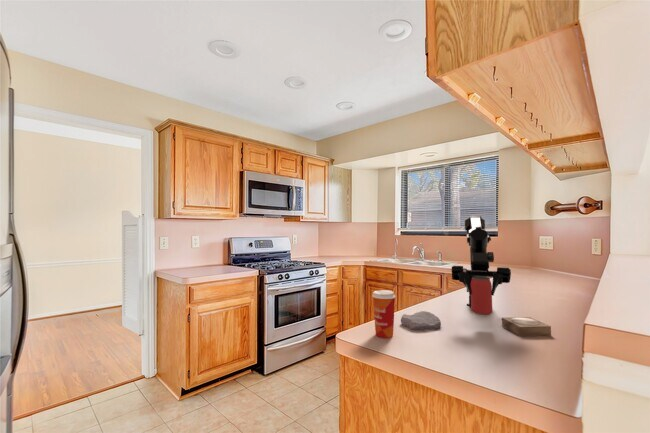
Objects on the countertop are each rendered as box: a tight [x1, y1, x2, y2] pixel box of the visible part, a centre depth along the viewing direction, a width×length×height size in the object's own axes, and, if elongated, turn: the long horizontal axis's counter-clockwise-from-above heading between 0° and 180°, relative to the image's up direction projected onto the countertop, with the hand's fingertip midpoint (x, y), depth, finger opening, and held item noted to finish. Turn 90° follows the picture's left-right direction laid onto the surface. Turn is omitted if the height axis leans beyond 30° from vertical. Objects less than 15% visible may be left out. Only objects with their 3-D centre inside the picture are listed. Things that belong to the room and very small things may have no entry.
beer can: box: [470, 276, 493, 316], centre depth 107 cm, size 7×7×12 cm
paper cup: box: [371, 289, 396, 339], centre depth 102 cm, size 8×8×14 cm
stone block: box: [400, 310, 442, 331], centre depth 111 cm, size 12×5×10 cm
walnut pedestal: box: [501, 316, 552, 337], centre depth 104 cm, size 10×10×3 cm
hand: (481, 294), depth 106 cm, fingers closed on beer can, 6 cm apart
